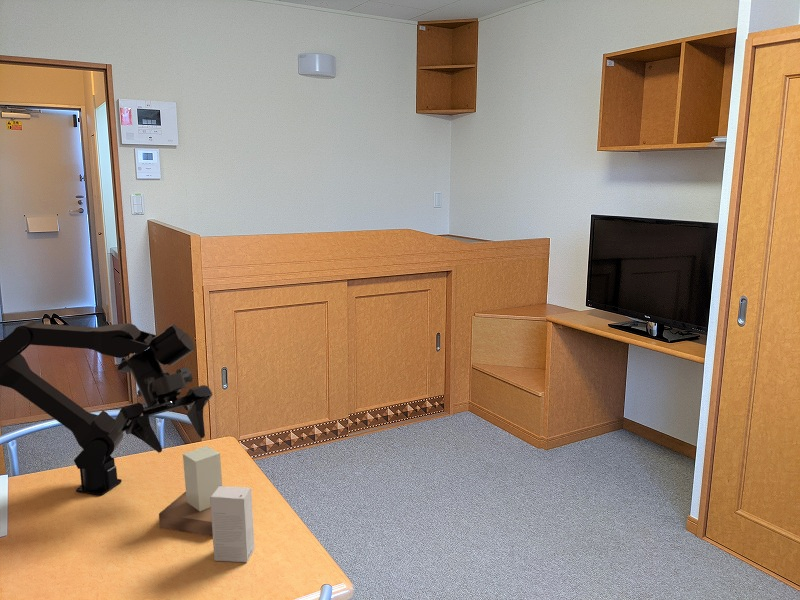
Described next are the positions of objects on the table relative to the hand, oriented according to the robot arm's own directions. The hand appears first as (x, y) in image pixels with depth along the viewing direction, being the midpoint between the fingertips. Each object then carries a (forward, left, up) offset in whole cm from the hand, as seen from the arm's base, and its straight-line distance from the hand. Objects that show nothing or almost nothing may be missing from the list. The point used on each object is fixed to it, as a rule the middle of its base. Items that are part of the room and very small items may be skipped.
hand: (182, 444), depth 129 cm
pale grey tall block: (+6, -3, -10) cm, 12 cm away
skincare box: (+18, -12, -13) cm, 26 cm away
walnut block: (+6, -2, -14) cm, 15 cm away
